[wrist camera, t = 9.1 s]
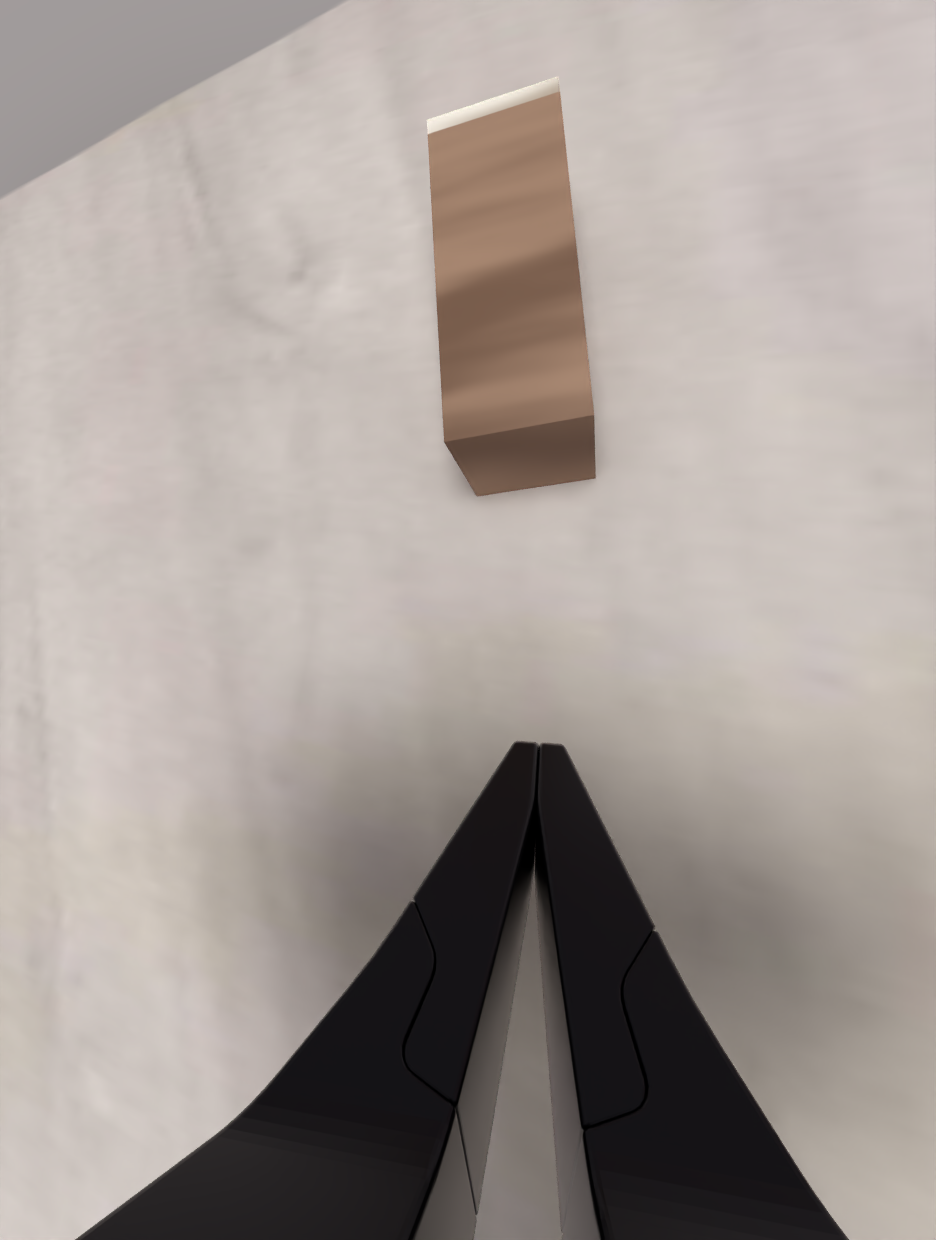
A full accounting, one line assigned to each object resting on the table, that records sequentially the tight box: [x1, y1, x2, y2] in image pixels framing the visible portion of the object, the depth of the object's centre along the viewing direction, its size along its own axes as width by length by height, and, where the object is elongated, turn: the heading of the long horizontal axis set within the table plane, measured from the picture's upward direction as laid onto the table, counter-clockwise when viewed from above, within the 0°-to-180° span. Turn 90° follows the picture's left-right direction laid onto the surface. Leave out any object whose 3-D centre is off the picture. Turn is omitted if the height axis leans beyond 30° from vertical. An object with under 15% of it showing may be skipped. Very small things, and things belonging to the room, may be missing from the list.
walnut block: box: [427, 77, 595, 496], centre depth 19 cm, size 4×4×12 cm
